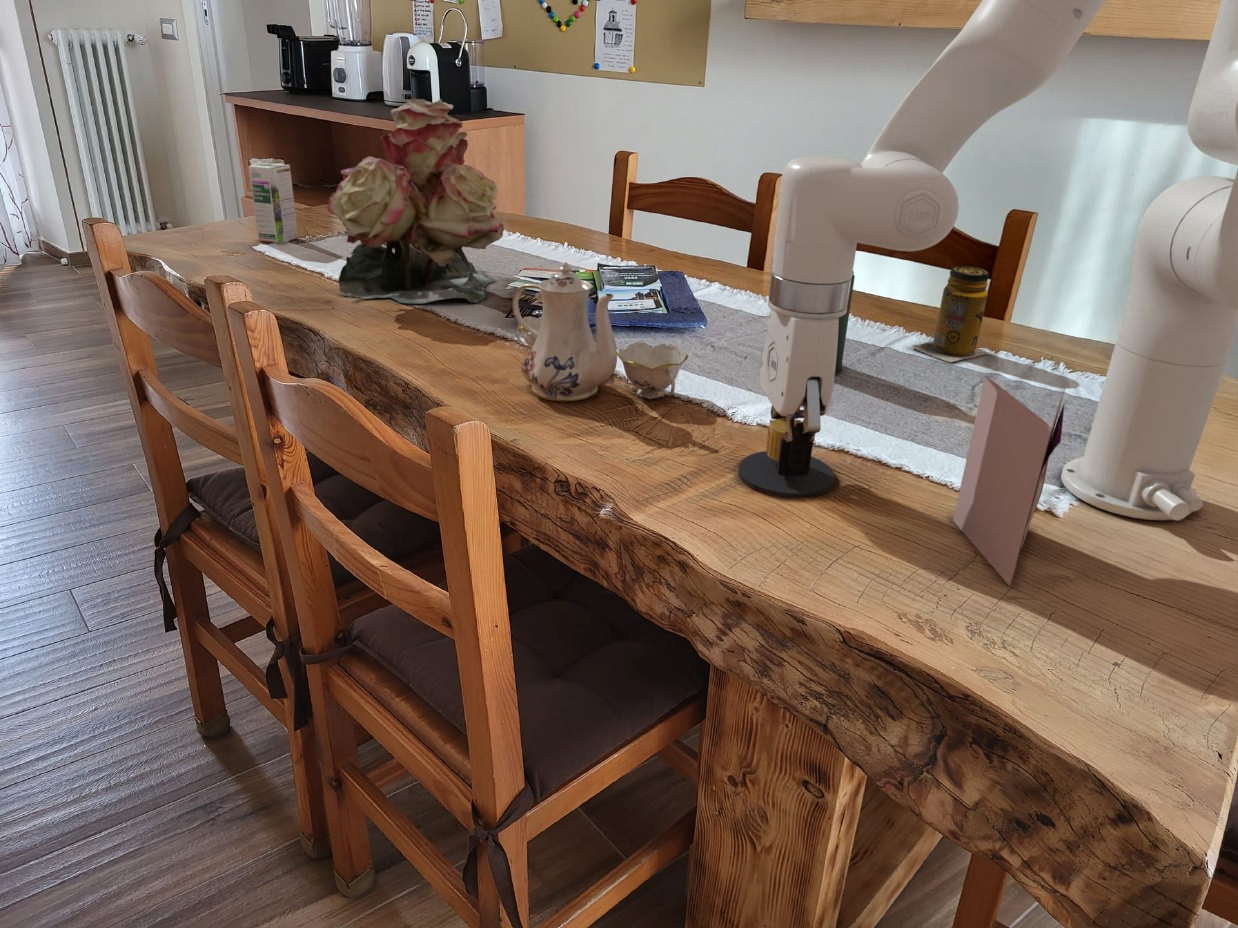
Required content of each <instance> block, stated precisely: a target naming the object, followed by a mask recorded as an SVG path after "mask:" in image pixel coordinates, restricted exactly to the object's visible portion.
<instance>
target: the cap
mask: <svg viewBox="0 0 1238 928" xmlns="http://www.w3.org/2000/svg"><path fill="white" fill-rule="evenodd" d="M772 420H773V421H771V422H770V421H769V427H768V431H767V441H766V450H765V451H767V455H768V456H769V457H770V458H771V459H773V460H776V461H778V459H779V451H780V443H781V438H785V426H786V418H780V419H772ZM799 420H800V419H795V420H794V427H795V425H796V424H797V423H802V421H803V420H802V421H801V420H800V421H799Z"/></svg>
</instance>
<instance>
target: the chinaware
mask: <svg viewBox="0 0 1238 928" xmlns="http://www.w3.org/2000/svg"><path fill="white" fill-rule="evenodd" d="M558 270H559V271H558V272H555V273H553V274H552V275H551V278H550V279H543V280H542V281H540V282H538V284H537V283H533V282H532V283H531V282H529V283H525V284H523V285H520V286H518V288H517V289H516V290H515V292H514V294H513V296H512V302H511V308H512V313H513V316H514V318H515V320H516V322H517V323H518V325H517V326H516V329H515V337H516V339H517V341H518V343H519V344H521V345H522V346H524V347H528V348H529V349H530V350H529V352H528V353H527V355H526V357H525V358H524V360H523V362H522V364H521V367H520V371H521V374H522V376H523V377H524V378H525V379H526V380H527V381H528V382H529V383H530V384H531V385H532V386H531V392H532V393H533V394H534V395H535V396H537V397H538V398H540V399H543V400H547V401H553V402H562V403H563V402H564V403H568V402H569V403H570V402H579V401H585V400H588V399H590V398H592V397H594V396H595V395H596V394H597V393H598V391H599V387H598V386H599V385H601V384H602V383H603V382H604V381H606V380H607V379H609V378H610V377H611V376H612V375H613V374H614V373H615V370H616V368H617V362H618V358H619V359H620V361H621V363H622V366H623V369H624V373H625V376H626V377H627V379H628V381H629V382H630V383H631V384H632V386H634V387H635V388H637V394H636V395H637V397H642V398H644V399H649V400H652V399H657V398H663V397H665V396H667V397H671V396H672V395H674V393H675V390H676V379H677V377H678V375H679V373H680V370H681V367H682V366H683V363H685V362H686V361H688V359H689V354H687V353H686V352H681V351H680V350H679V349H678V347H677V346H676V345H673V344H671V343H660V344H657V345H654V346H653V345H651V344H649V343H646V342H634V343H631V344H629V345H628V346H627V347H626V348H625V349H619V350H618V349H617V348H618V347H617V343H616V338H615V335H614V332H613V329H612V325H611V320H610V317H609V316H610V315H609V311H608V307H609V303H610V301H612V299H613V298H614V297H615V295H614V294H613V293H604V294H603V295H602V296H600V297H599V298H598V301H597V303H596V305H595V332H596V336H595V337H596V341H595V339H594V336H593V332H592V329H591V325H590V321H589V314H588V313H589V312H588V301H589V296H590V291H591V289H592V288H593V287H592V286H593V284H592V283H590V282H589V281H587V280H584V279H580V277H579V276H578V274H577V273H575V272H573V271H572V270H573V269H572V267H570V264H569V263H568V262H567V261H564V262H563V263H562V264H561V266H560V267H559V268H558ZM527 289H537V290H540V291H539V292H536V293H535V294H534V298H535V299H536V300H537V301H542V311H541V315H540V316H538V317H535V316H531V315H529V316H523V317H522V314H521V312H520V307H519V299H520V295H521V294H522V292H523V291H525V290H527ZM519 331H520V332H522V333H523V340H522V339H521V338H520V335H519V333H520V332H519ZM668 387H670V392H669V393H668V392H667V391H666V390H665V389H667V388H668Z"/></svg>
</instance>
